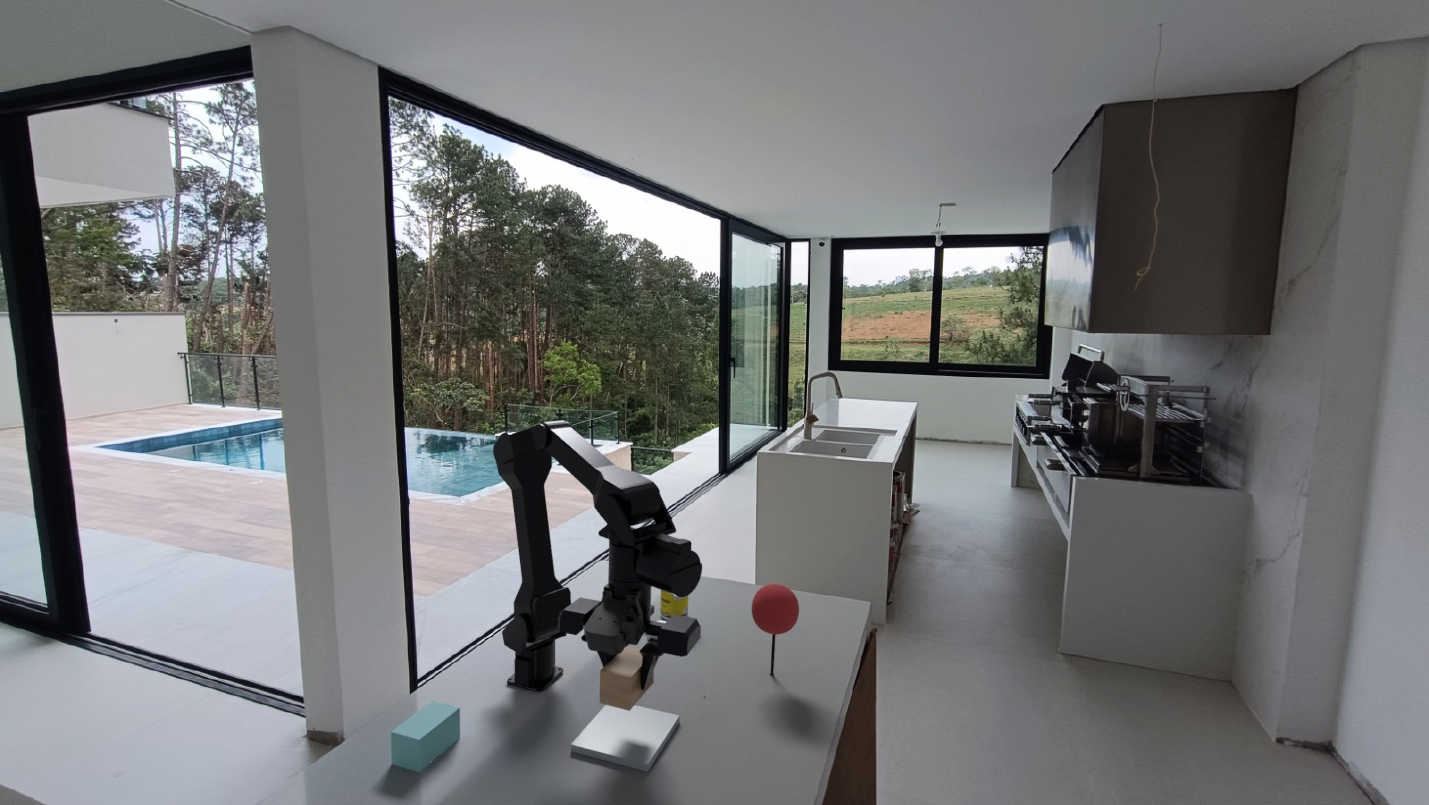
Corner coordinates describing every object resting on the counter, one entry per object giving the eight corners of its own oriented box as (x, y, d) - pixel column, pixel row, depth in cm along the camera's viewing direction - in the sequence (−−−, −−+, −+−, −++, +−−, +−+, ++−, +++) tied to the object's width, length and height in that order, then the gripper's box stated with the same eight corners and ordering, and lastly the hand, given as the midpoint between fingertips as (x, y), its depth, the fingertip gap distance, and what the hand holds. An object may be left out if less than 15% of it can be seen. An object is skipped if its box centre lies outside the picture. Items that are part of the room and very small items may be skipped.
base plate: (610, 705, 93) (610, 699, 93) (679, 722, 90) (679, 715, 90) (570, 751, 83) (571, 744, 83) (647, 772, 80) (647, 764, 80)
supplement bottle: (656, 612, 125) (657, 564, 124) (681, 608, 128) (682, 561, 126) (665, 623, 120) (667, 574, 119) (692, 619, 123) (693, 570, 122)
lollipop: (794, 689, 99) (799, 598, 98) (746, 683, 101) (749, 593, 99) (796, 665, 107) (800, 579, 105) (751, 659, 108) (755, 575, 106)
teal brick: (433, 731, 86) (433, 700, 86) (460, 739, 85) (459, 707, 85) (391, 765, 80) (390, 731, 79) (419, 773, 78) (419, 739, 78)
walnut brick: (625, 676, 90) (626, 645, 89) (653, 682, 88) (654, 652, 88) (599, 703, 83) (600, 670, 83) (629, 710, 82) (630, 678, 81)
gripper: (534, 585, 79) (534, 702, 81) (672, 610, 74) (668, 736, 75) (580, 557, 90) (578, 661, 92) (703, 576, 84) (700, 687, 86)
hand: (627, 685), depth 86 cm, fingers closed on walnut brick, 4 cm apart
